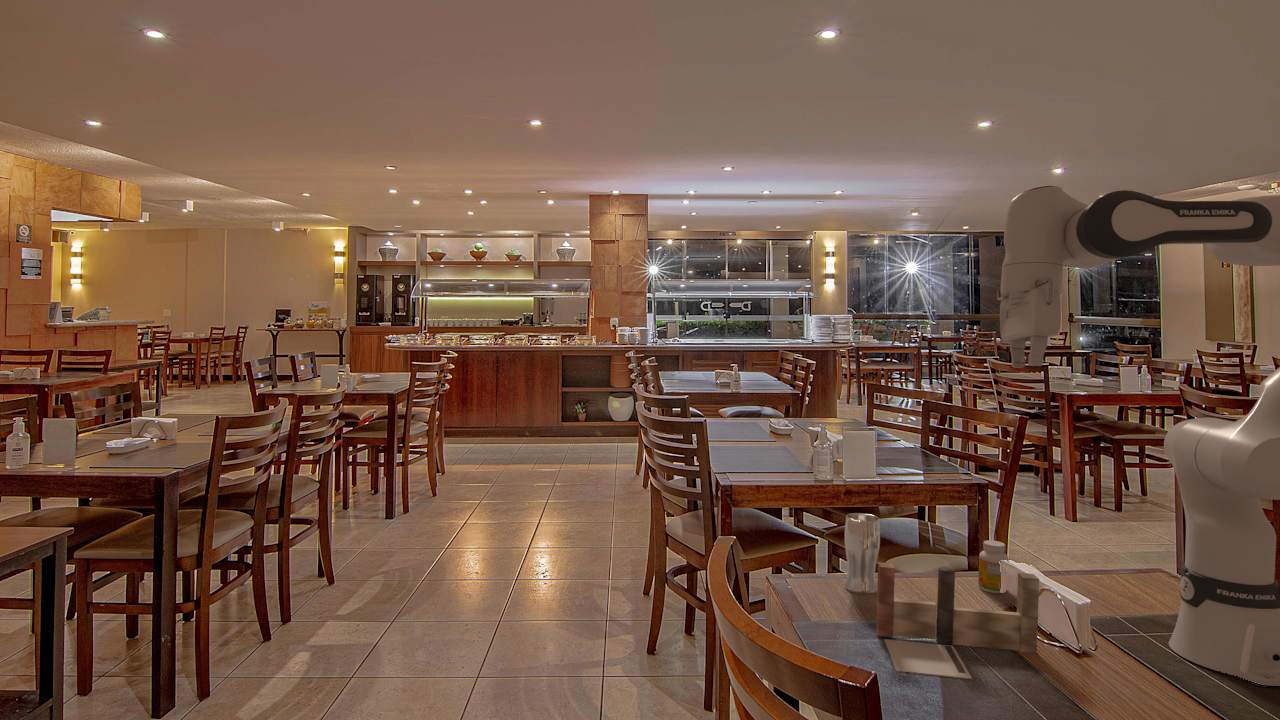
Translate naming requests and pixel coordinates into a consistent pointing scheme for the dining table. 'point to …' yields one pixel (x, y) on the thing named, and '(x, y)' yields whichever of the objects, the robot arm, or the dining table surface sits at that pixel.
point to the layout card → (927, 659)
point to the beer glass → (861, 551)
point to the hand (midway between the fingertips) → (1026, 366)
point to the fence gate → (901, 610)
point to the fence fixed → (988, 618)
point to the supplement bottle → (991, 566)
